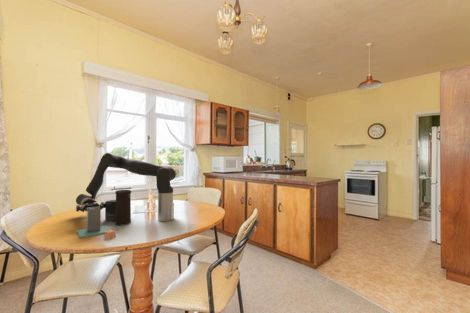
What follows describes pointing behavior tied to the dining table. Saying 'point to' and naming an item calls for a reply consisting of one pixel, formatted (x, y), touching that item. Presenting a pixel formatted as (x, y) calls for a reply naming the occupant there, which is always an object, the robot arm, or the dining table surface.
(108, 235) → the block
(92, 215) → the gray rectangular block
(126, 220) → the container
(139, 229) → the dining table surface
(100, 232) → the teal board
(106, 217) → the small box
